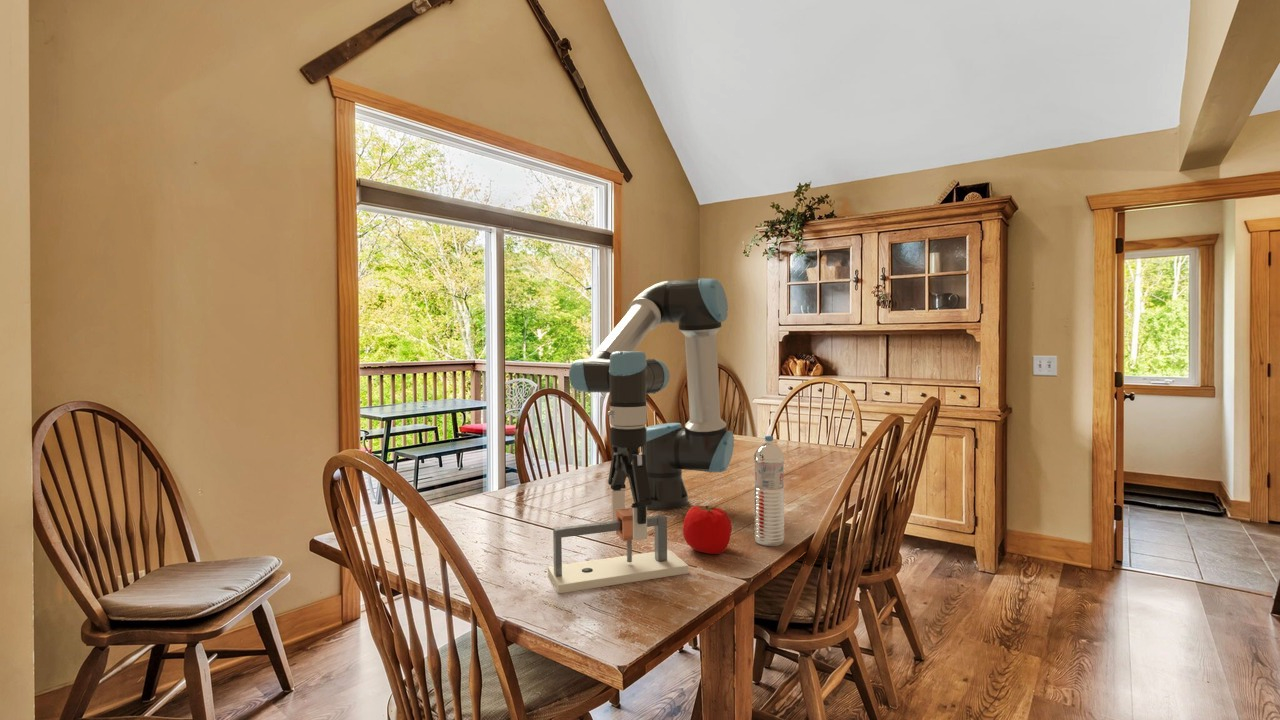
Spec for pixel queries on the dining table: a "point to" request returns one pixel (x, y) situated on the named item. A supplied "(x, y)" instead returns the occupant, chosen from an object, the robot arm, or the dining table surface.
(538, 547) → the dining table surface
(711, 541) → the tomato
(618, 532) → the slider sleeve
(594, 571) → the hole board
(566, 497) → the dining table surface
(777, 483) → the water bottle
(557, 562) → the grey slider rail frame
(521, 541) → the dining table surface
